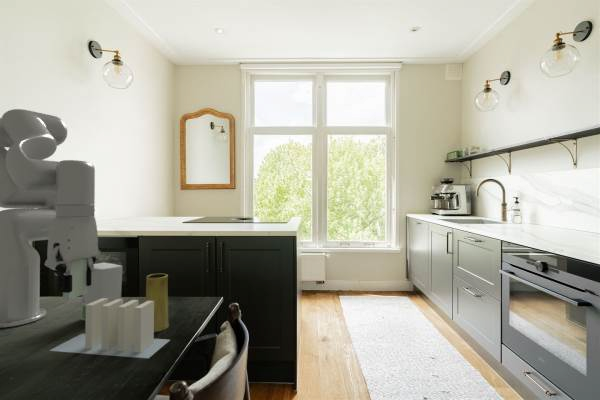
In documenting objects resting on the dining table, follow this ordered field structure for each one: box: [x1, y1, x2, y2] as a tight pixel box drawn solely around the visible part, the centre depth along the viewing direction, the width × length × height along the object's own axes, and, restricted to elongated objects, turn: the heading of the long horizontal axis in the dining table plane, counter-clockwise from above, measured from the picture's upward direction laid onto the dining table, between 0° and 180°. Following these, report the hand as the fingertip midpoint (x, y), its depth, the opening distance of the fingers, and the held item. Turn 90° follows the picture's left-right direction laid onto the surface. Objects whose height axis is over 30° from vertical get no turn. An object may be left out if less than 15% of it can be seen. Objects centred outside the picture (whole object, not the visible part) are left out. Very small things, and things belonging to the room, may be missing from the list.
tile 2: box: [84, 298, 108, 349], centre depth 73 cm, size 2×5×10 cm, turn 173°
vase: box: [145, 272, 170, 333], centre depth 83 cm, size 6×6×14 cm
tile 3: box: [101, 298, 124, 350], centre depth 73 cm, size 2×5×10 cm, turn 173°
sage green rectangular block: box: [62, 259, 87, 300], centre depth 74 cm, size 2×5×10 cm, turn 173°
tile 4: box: [117, 299, 140, 351], centre depth 72 cm, size 2×5×10 cm, turn 173°
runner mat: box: [49, 333, 171, 359], centre depth 73 cm, size 24×9×1 cm, turn 83°
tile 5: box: [134, 300, 155, 353], centre depth 72 cm, size 2×5×10 cm, turn 173°
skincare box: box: [80, 262, 123, 322], centre depth 90 cm, size 8×7×16 cm
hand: (75, 287), depth 74 cm, fingers closed on sage green rectangular block, 4 cm apart
